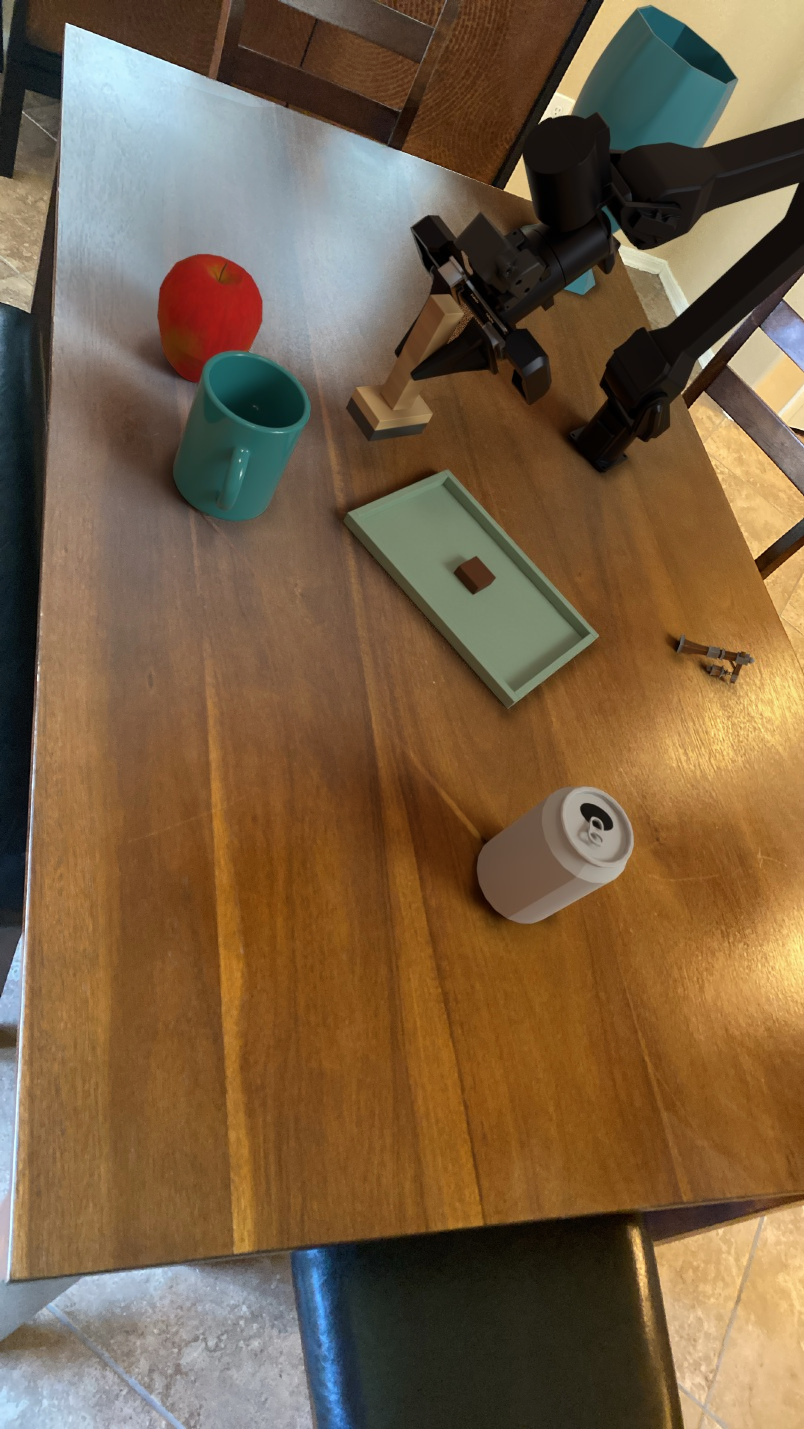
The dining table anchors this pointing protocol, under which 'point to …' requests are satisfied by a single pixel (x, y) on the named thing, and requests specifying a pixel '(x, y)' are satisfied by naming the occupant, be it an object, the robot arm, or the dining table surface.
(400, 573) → the tray
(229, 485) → the cup
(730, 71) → the vase
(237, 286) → the apple
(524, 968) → the dining table surface
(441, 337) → the brush
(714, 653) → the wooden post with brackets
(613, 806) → the can
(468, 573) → the crumb
